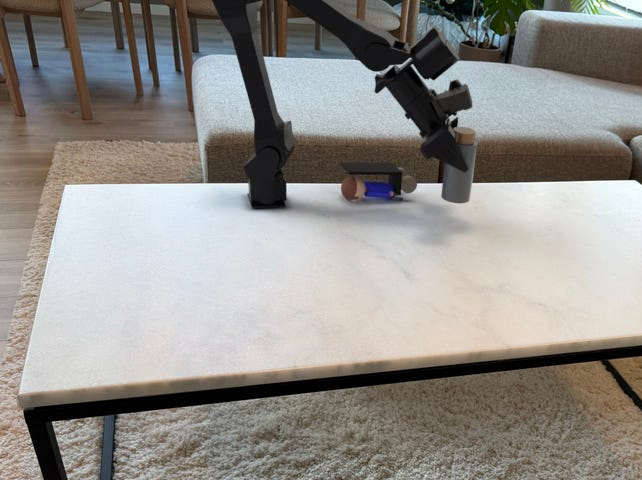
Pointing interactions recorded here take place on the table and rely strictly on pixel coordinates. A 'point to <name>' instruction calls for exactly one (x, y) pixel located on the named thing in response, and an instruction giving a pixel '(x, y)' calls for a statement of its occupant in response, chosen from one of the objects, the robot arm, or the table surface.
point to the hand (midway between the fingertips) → (467, 165)
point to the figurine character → (357, 188)
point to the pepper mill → (455, 180)
